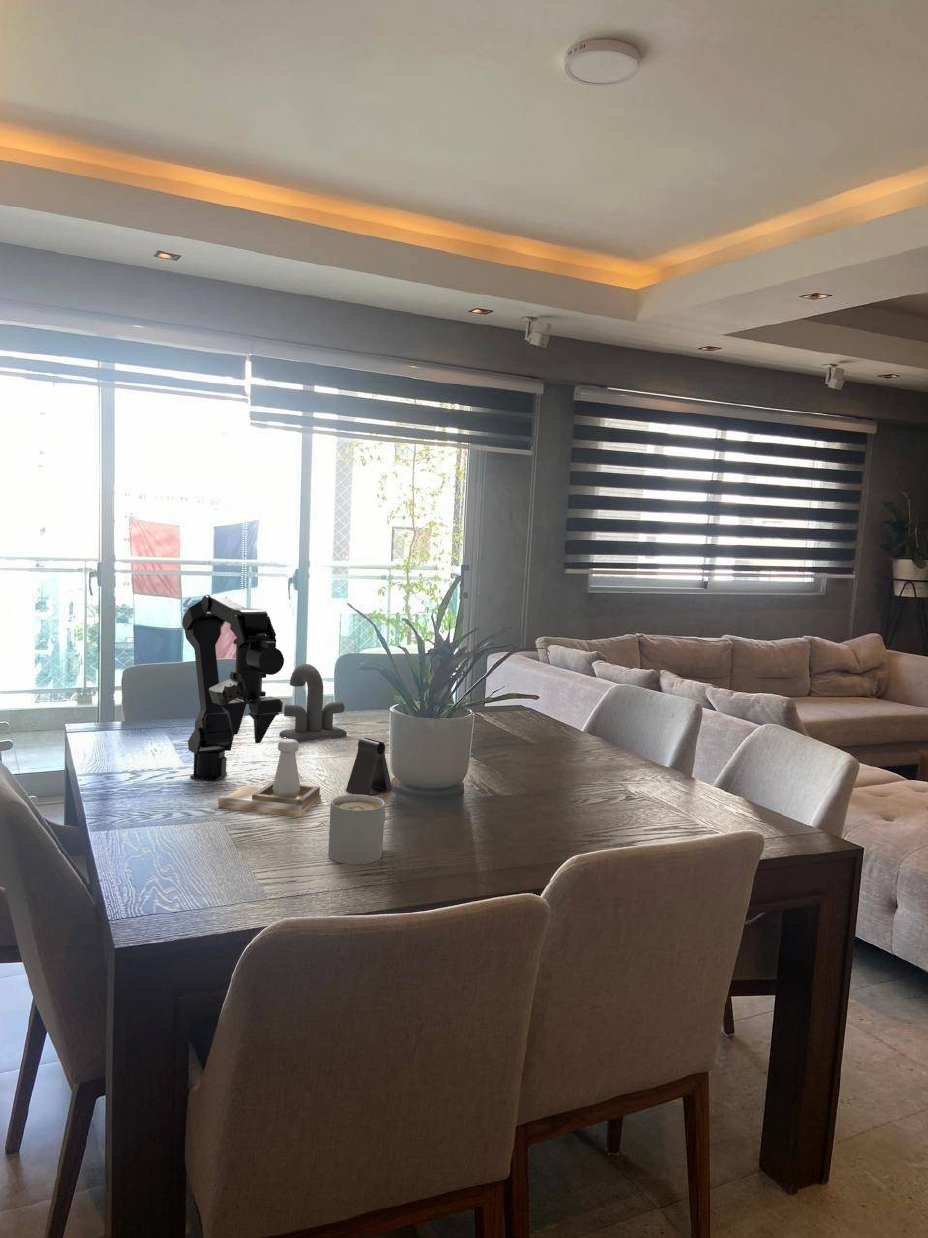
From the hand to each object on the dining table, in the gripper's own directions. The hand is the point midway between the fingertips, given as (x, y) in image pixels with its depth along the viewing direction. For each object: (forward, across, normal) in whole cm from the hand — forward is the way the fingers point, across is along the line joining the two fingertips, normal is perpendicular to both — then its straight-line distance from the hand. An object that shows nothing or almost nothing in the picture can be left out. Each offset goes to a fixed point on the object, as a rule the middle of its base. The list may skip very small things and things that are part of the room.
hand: (246, 738), depth 203 cm
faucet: (+13, -44, +47) cm, 66 cm away
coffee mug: (+13, +42, 0) cm, 44 cm away
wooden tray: (+13, +7, +2) cm, 15 cm away
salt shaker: (+12, +9, +4) cm, 16 cm away
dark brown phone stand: (+13, +11, +26) cm, 31 cm away
